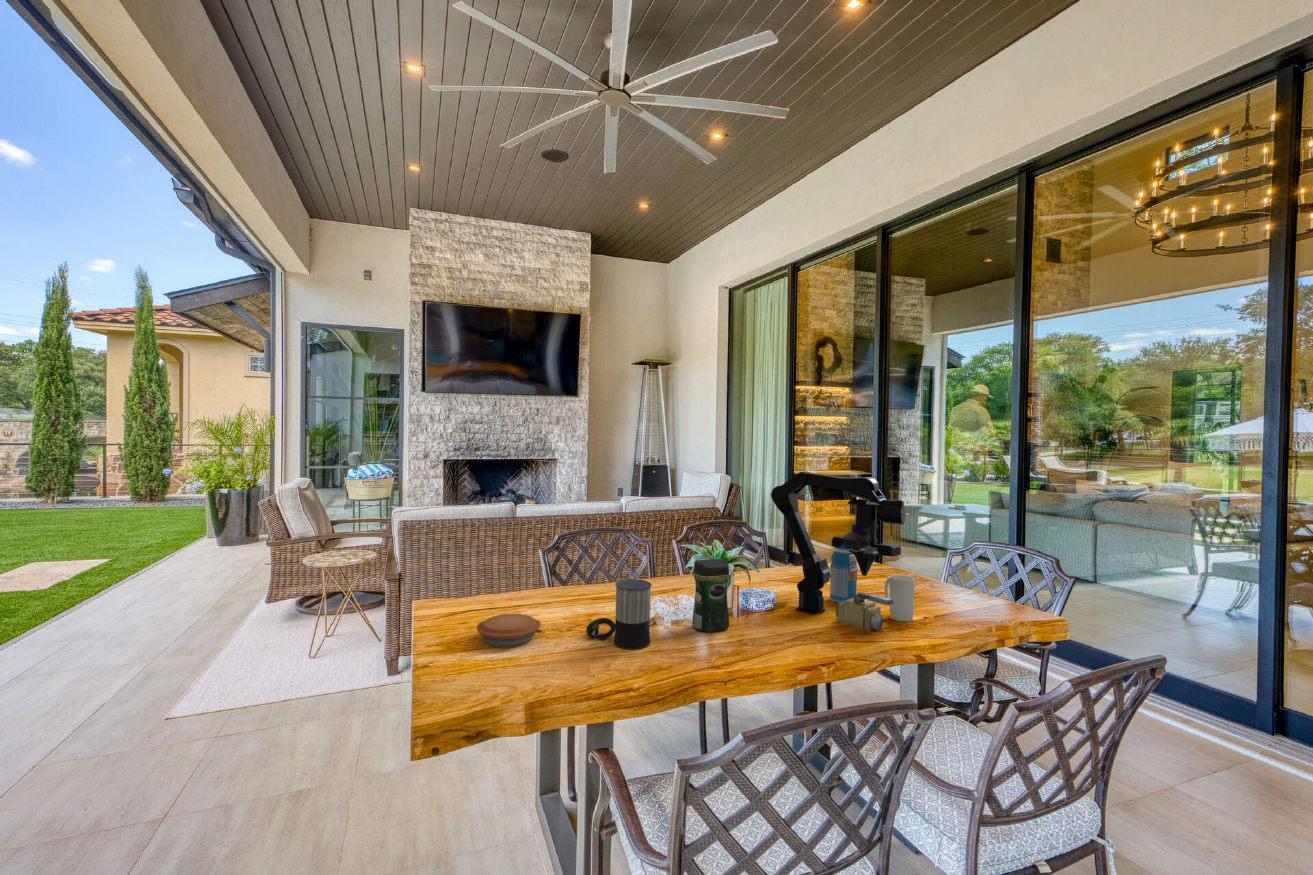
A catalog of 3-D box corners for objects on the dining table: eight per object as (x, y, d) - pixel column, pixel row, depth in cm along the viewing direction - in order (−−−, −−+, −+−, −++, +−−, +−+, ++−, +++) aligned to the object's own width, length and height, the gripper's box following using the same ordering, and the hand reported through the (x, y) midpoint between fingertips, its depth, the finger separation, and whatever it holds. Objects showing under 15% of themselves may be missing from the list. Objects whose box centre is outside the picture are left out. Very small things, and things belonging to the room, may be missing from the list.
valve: (833, 620, 163) (834, 598, 163) (845, 617, 167) (846, 594, 167) (873, 632, 154) (873, 608, 154) (884, 628, 158) (885, 604, 158)
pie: (517, 655, 133) (517, 633, 133) (462, 645, 138) (463, 624, 138) (552, 634, 147) (552, 614, 147) (501, 626, 153) (501, 607, 153)
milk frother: (653, 649, 138) (654, 588, 138) (587, 651, 136) (588, 589, 136) (645, 629, 152) (646, 574, 152) (585, 631, 150) (587, 574, 150)
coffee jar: (719, 621, 160) (720, 555, 160) (733, 630, 153) (734, 561, 153) (687, 624, 157) (689, 557, 157) (700, 634, 150) (702, 563, 150)
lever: (887, 609, 152) (887, 600, 152) (851, 599, 161) (851, 591, 161) (893, 608, 154) (894, 599, 154) (857, 598, 163) (858, 589, 163)
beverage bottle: (831, 603, 181) (832, 540, 181) (827, 596, 190) (829, 535, 190) (859, 605, 180) (860, 541, 180) (854, 597, 188) (855, 537, 188)
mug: (919, 620, 165) (920, 579, 165) (901, 623, 163) (902, 581, 163) (893, 610, 175) (894, 571, 175) (875, 612, 172) (876, 572, 172)
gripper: (821, 519, 166) (819, 573, 166) (882, 527, 152) (880, 586, 152) (842, 516, 173) (841, 568, 173) (902, 524, 159) (901, 580, 159)
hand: (864, 575), depth 164 cm, fingers closed
